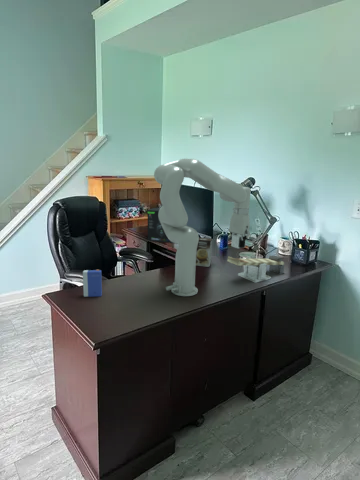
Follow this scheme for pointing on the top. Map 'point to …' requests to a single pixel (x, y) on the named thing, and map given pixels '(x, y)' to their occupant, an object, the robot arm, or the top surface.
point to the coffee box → (203, 252)
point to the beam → (256, 261)
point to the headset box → (156, 227)
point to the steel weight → (236, 241)
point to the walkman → (92, 283)
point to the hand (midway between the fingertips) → (238, 245)
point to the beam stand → (259, 272)
